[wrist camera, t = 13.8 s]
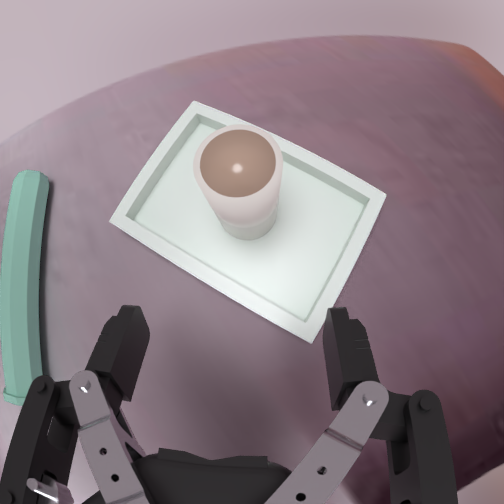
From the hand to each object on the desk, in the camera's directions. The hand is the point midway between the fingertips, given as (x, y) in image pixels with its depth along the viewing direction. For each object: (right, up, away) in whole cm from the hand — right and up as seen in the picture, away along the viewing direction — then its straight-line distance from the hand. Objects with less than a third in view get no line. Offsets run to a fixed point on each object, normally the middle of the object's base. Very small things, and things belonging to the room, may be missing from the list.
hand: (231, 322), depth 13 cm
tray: (0, +6, +14) cm, 16 cm away
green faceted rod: (-23, -1, +15) cm, 28 cm away
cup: (+1, +6, +14) cm, 15 cm away
